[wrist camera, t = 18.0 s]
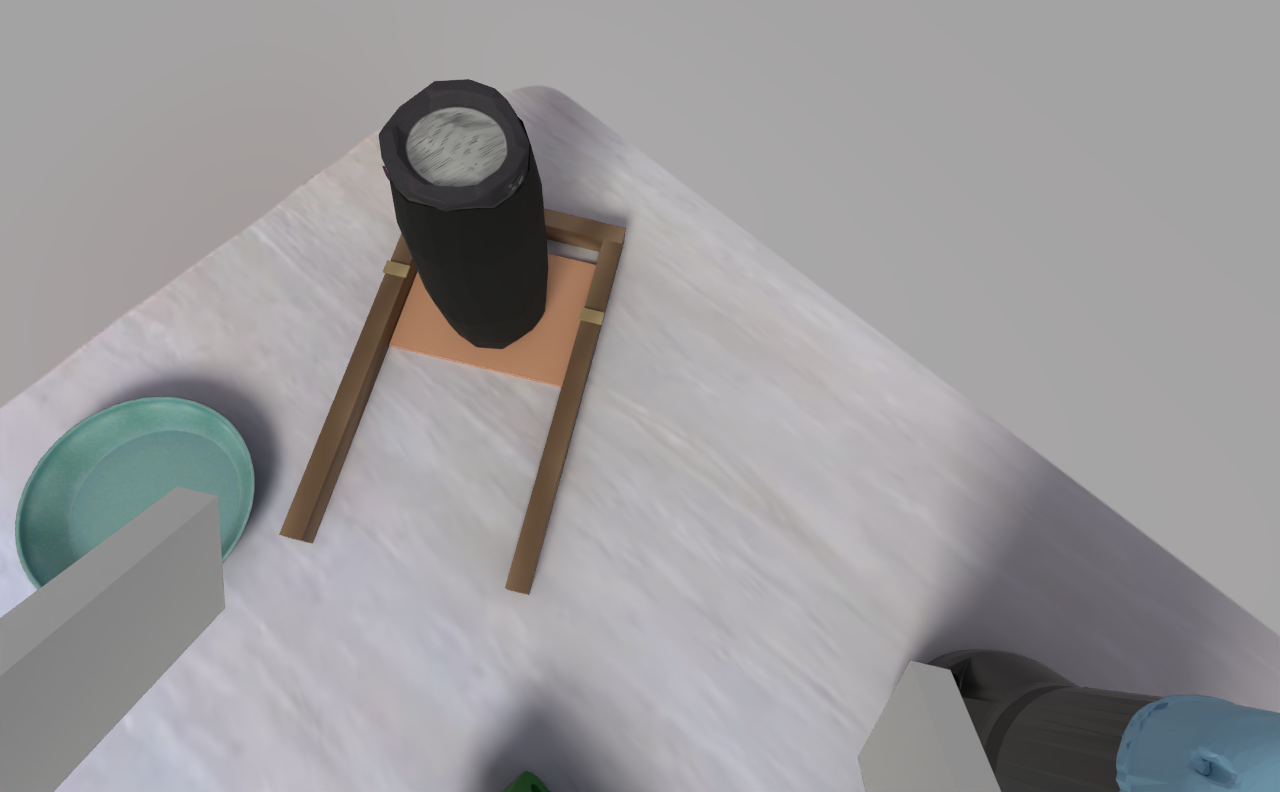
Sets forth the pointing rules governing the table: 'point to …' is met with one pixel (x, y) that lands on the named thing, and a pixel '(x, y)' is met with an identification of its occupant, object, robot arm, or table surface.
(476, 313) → the portable speaker
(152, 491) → the saucer
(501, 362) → the flat panel
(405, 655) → the table surface
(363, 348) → the rail track
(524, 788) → the clamp
